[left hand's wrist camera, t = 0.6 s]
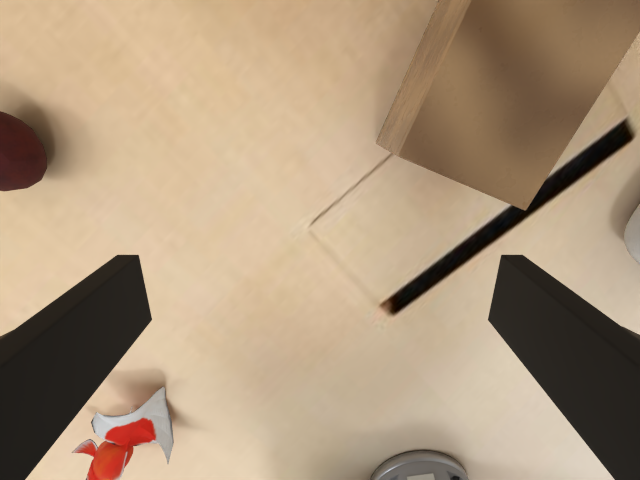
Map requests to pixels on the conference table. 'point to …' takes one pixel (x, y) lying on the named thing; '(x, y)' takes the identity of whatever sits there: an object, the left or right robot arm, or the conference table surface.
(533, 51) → the cabinet
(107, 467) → the fish
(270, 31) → the conference table surface
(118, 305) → the left robot arm
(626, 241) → the projector
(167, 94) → the conference table surface
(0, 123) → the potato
